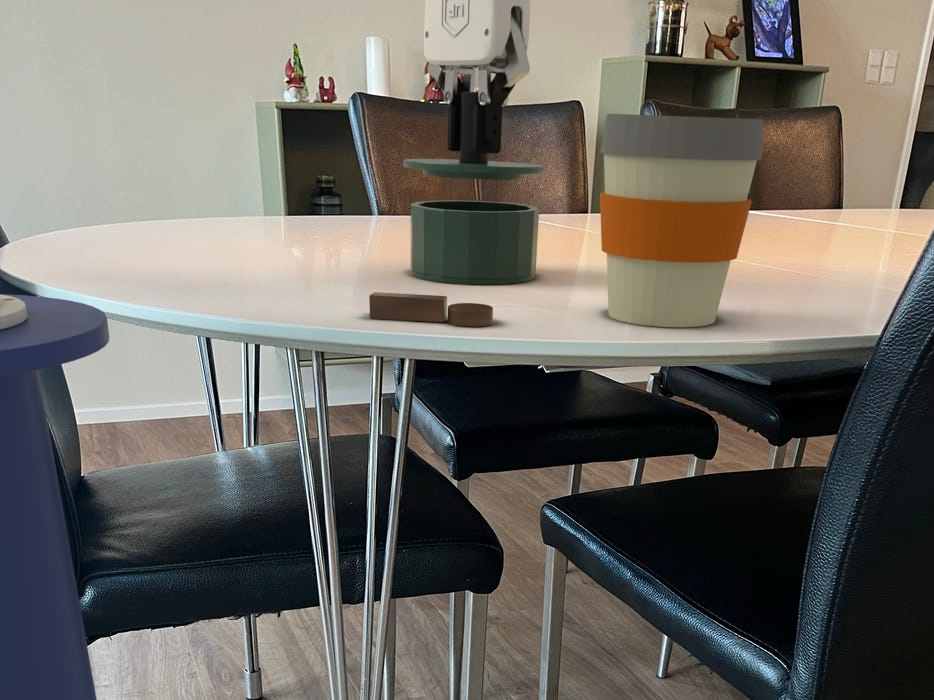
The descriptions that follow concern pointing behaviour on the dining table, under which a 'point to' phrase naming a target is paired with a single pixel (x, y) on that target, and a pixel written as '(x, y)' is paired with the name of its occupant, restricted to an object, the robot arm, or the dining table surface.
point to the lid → (471, 155)
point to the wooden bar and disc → (428, 309)
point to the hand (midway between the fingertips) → (473, 150)
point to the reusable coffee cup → (674, 213)
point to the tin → (474, 242)
